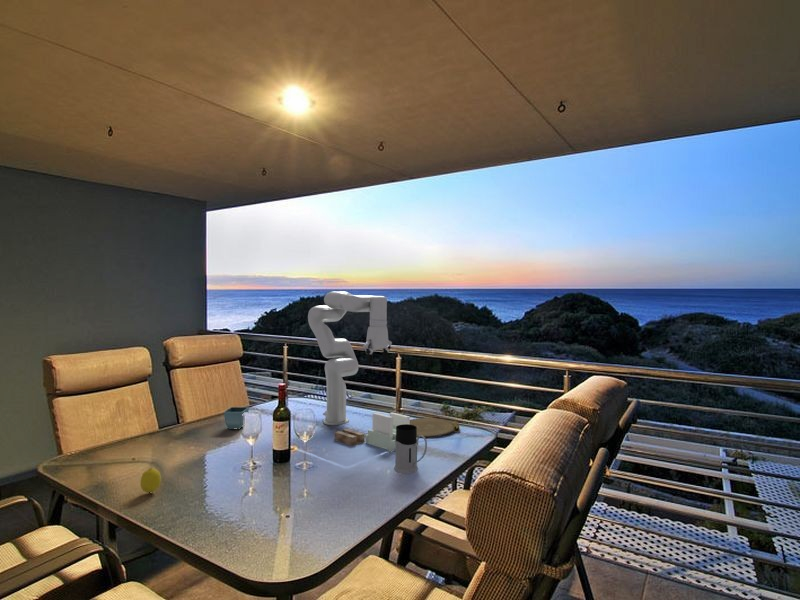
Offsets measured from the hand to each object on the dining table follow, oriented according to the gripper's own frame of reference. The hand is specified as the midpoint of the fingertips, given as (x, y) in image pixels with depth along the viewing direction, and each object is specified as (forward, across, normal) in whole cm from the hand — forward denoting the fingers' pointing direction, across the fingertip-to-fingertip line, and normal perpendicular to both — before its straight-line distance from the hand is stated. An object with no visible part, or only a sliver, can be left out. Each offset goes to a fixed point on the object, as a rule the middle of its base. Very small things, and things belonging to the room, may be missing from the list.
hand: (377, 362), depth 193 cm
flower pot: (+34, +36, -57) cm, 75 cm away
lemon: (+33, +88, -13) cm, 95 cm away
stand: (+33, +14, -3) cm, 36 cm away
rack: (+33, +3, +11) cm, 35 cm away
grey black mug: (+33, +20, +36) cm, 53 cm away
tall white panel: (+32, +8, +11) cm, 35 cm away
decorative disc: (+34, -24, +10) cm, 43 cm away
